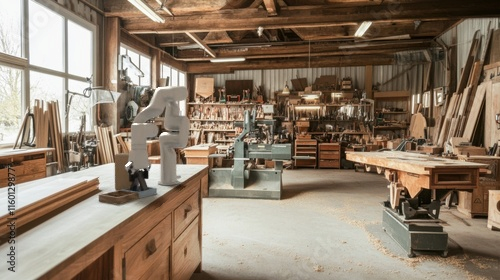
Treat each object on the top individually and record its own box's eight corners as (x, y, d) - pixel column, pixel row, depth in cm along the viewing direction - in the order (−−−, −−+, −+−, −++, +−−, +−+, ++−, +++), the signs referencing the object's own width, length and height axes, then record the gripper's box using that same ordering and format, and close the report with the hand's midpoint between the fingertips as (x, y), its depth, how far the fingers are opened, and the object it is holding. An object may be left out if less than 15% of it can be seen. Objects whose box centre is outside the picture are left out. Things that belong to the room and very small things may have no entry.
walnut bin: (119, 195, 161) (119, 190, 161) (138, 198, 156) (137, 192, 156) (98, 201, 150) (98, 194, 150) (117, 204, 145) (117, 197, 144)
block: (139, 187, 182) (139, 153, 181) (131, 191, 172) (131, 154, 171) (123, 186, 183) (122, 152, 182) (114, 190, 173) (113, 154, 172)
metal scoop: (119, 192, 170) (119, 188, 170) (125, 193, 168) (125, 189, 168) (100, 197, 159) (100, 193, 159) (106, 198, 157) (106, 194, 157)
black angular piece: (149, 192, 167) (149, 169, 167) (145, 195, 161) (145, 171, 161) (132, 192, 167) (132, 169, 167) (127, 194, 161) (127, 171, 161)
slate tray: (139, 191, 173) (139, 185, 173) (156, 193, 167) (156, 187, 167) (120, 195, 162) (120, 189, 162) (138, 198, 156) (138, 192, 156)
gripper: (145, 146, 173) (145, 177, 174) (120, 148, 157) (120, 182, 158) (156, 146, 169) (156, 178, 170) (131, 148, 154) (131, 183, 155)
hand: (139, 180), depth 164 cm, fingers open, 9 cm apart
